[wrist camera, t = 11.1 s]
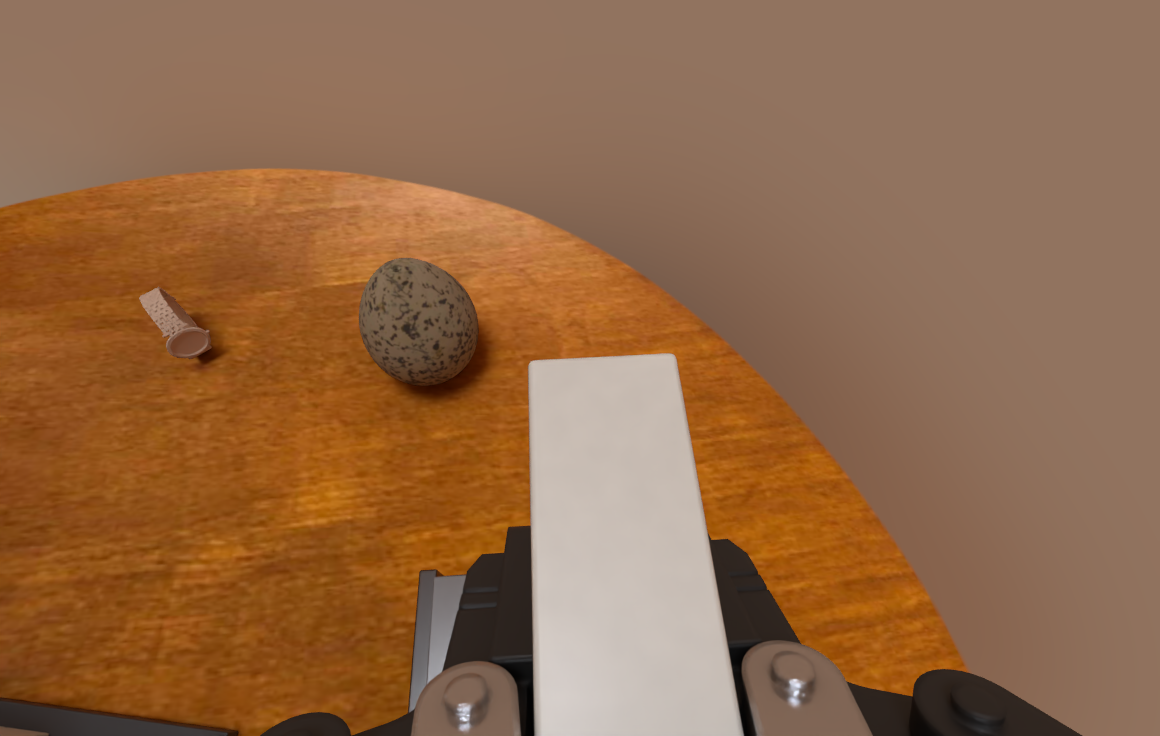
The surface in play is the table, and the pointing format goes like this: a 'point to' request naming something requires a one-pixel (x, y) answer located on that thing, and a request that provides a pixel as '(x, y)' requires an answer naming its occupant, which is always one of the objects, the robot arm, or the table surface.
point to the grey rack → (433, 627)
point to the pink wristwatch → (176, 325)
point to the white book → (621, 557)
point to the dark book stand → (88, 723)
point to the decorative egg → (417, 322)
